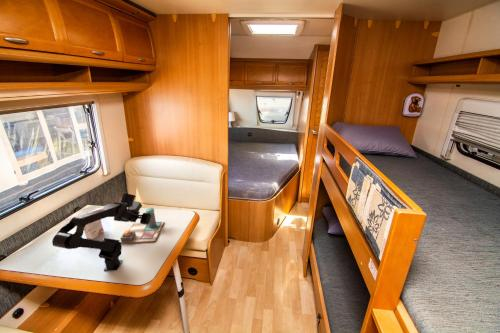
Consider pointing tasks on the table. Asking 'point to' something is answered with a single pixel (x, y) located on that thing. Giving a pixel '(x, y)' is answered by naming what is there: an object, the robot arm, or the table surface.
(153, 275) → the table surface
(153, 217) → the teal rubber stamp
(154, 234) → the colouring board
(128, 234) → the button
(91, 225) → the ink cartridge box
